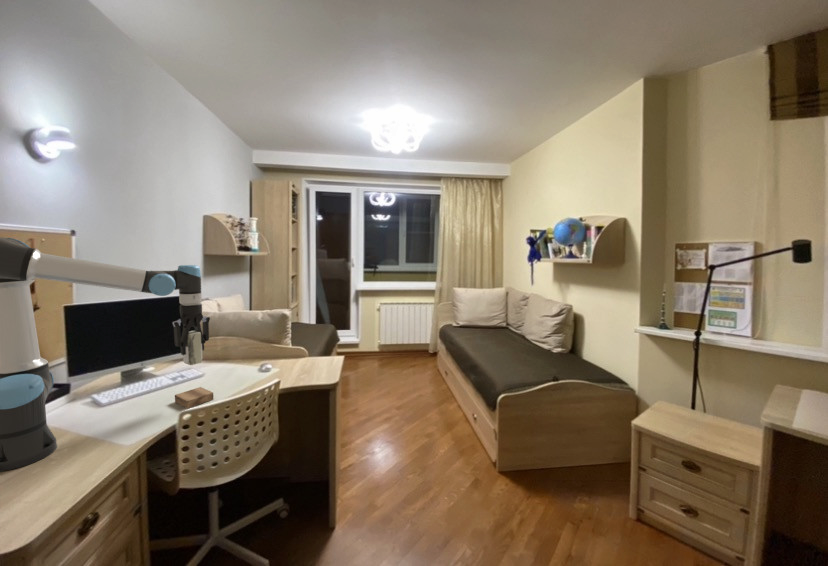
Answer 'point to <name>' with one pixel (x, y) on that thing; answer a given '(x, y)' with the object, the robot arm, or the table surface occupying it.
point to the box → (194, 347)
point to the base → (194, 397)
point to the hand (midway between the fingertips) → (193, 360)
